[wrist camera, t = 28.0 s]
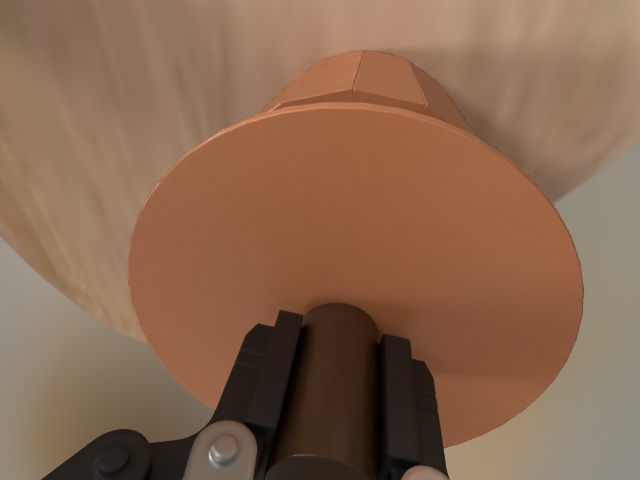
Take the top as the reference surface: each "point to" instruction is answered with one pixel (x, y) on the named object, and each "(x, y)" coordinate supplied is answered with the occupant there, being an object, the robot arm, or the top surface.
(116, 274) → the top surface
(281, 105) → the pot
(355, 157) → the lid
